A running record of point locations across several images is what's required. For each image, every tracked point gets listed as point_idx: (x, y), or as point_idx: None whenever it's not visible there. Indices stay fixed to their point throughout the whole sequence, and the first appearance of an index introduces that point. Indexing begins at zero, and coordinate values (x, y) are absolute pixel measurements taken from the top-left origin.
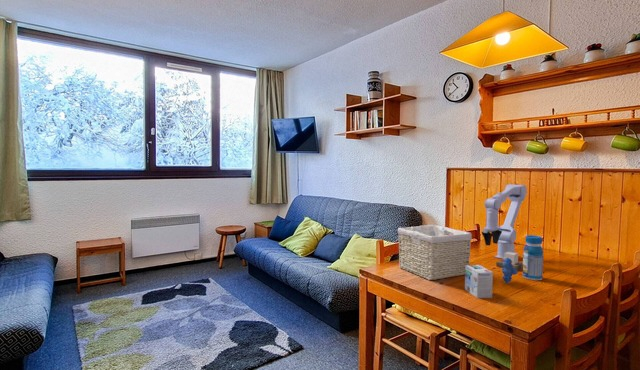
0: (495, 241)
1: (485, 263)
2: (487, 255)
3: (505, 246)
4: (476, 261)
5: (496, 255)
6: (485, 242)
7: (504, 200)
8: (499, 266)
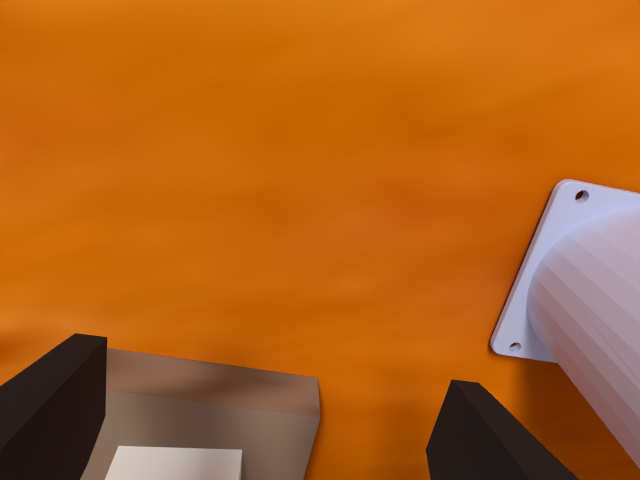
0: (448, 469)
1: (106, 209)
2: (610, 62)
3: (627, 441)
4: (98, 67)
5: (616, 195)
6: (29, 372)
7: None
8: None
